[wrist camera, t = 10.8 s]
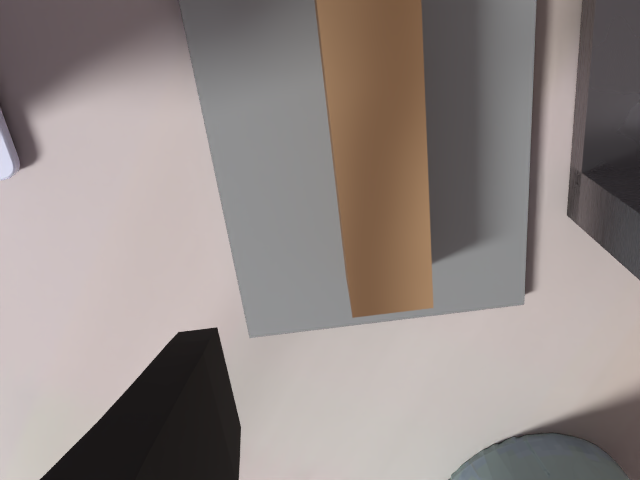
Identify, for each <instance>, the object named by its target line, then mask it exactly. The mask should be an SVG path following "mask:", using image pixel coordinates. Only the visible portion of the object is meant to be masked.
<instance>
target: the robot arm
mask: <svg viewBox="0 0 640 480" xmlns="http://www.w3.org/2000/svg"><path fill="white" fill-rule="evenodd" d="M19 167H20V162H19V158H18V155H17V152H16V149H15V147H14V144H13V141H12V138H11V136H10V133H9V130H8V127H7V125H6V122H5V119H4V116H3V114H2V111H1V108H0V180H5V179H8V178H11V177H12V176H13V175H15V174H16V173H17V172H18V171H19ZM240 437H241V426H240V421H239V417H238V413H237V409H236V405H235V400H234V396H233V392H232V388H231V384H230V379H229V375H228V371H227V367H226V363H225V358H224V354H223V350H222V346H221V342H220V337H219V333H218V329H217V328H209V329H201V330H193V331H184V332H178V333H177V335H176V336H175V337H174V338H173V339H172V340H171V341H170V342H169V343H168V344H167V345H166V346H165V347H164V349H163V350H162V351H161V352H160V353H159V354H158V355H157V357H156V358H155V359H154V360H153V361H152V362H151V363H150V364H149V366H148V367H147V368H146V369H145V370H144V371H143V372H142V374H141V375H140V376H139V377H138V378H137V379H136V380H135V381H134V383H133V384H132V385H131V386H130V387H129V388H128V389H127V390H126V391H125V392H124V394H123V395H122V396H121V397H120V398H119V399H118V400H117V401H116V402H115V403H114V405H113V406H112V407H111V408H110V409H109V410H108V411H107V412H106V413H105V414H104V416H103V417H102V418H101V419H100V420H99V421H98V422H97V423H96V424H95V425H94V426H93V427H92V428H91V429H90V430H89V431H88V432H87V433H86V434H85V435H84V436H83V437H82V438H81V439H80V440H79V441H78V442H77V443H76V444H75V445H74V446H73V447H72V448H71V449H70V450H69V451H68V452H67V453H66V454H65V455H64V456H63V457H62V458H61V459H60V460H59V461H58V462H57V463H56V464H55V465H54V466H53V467H52V468H51V469H50V470H49V471H48V472H47V473H46V474H45V475H44V476H43V477H42V478H41V479H40V480H239V463H240Z"/></svg>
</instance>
